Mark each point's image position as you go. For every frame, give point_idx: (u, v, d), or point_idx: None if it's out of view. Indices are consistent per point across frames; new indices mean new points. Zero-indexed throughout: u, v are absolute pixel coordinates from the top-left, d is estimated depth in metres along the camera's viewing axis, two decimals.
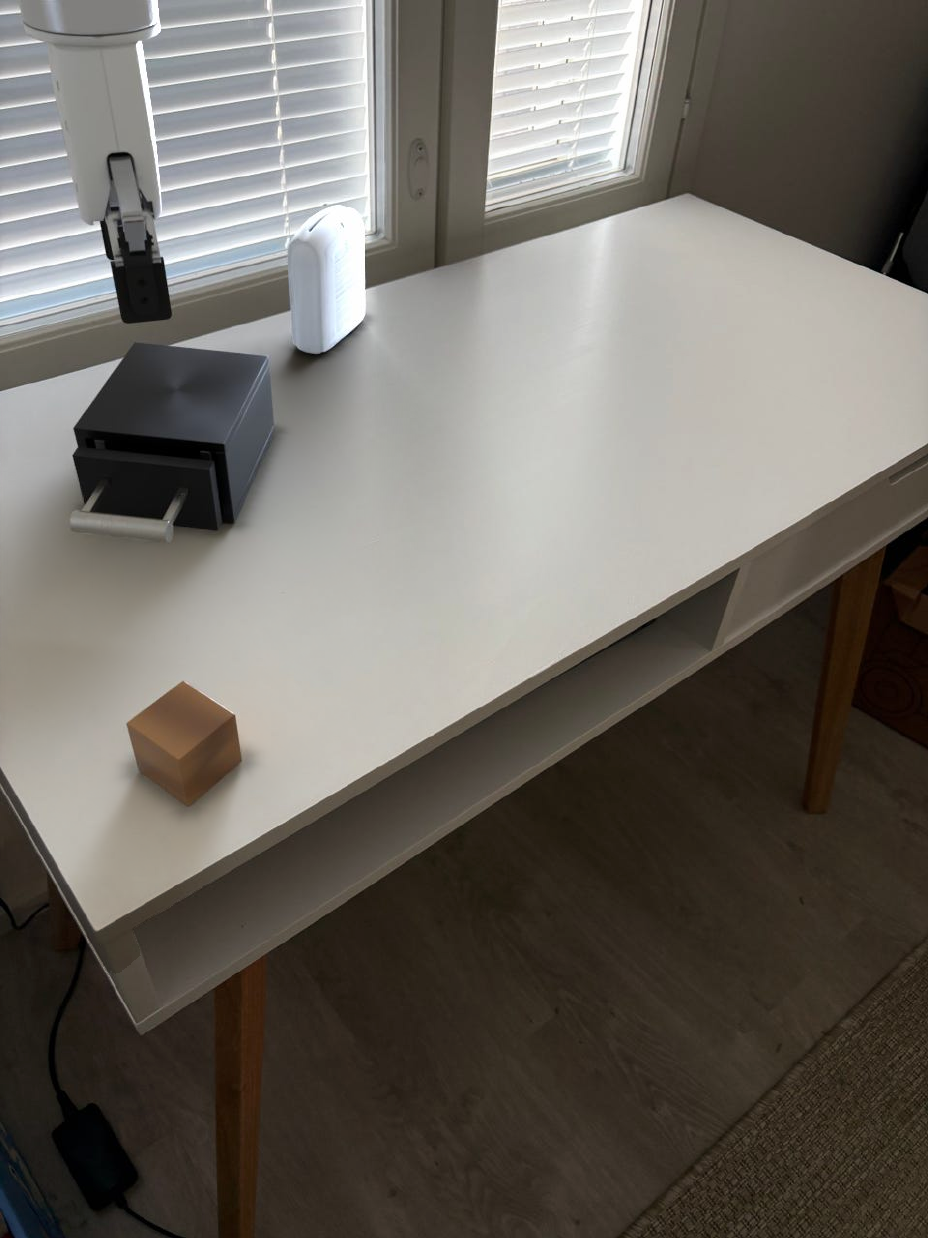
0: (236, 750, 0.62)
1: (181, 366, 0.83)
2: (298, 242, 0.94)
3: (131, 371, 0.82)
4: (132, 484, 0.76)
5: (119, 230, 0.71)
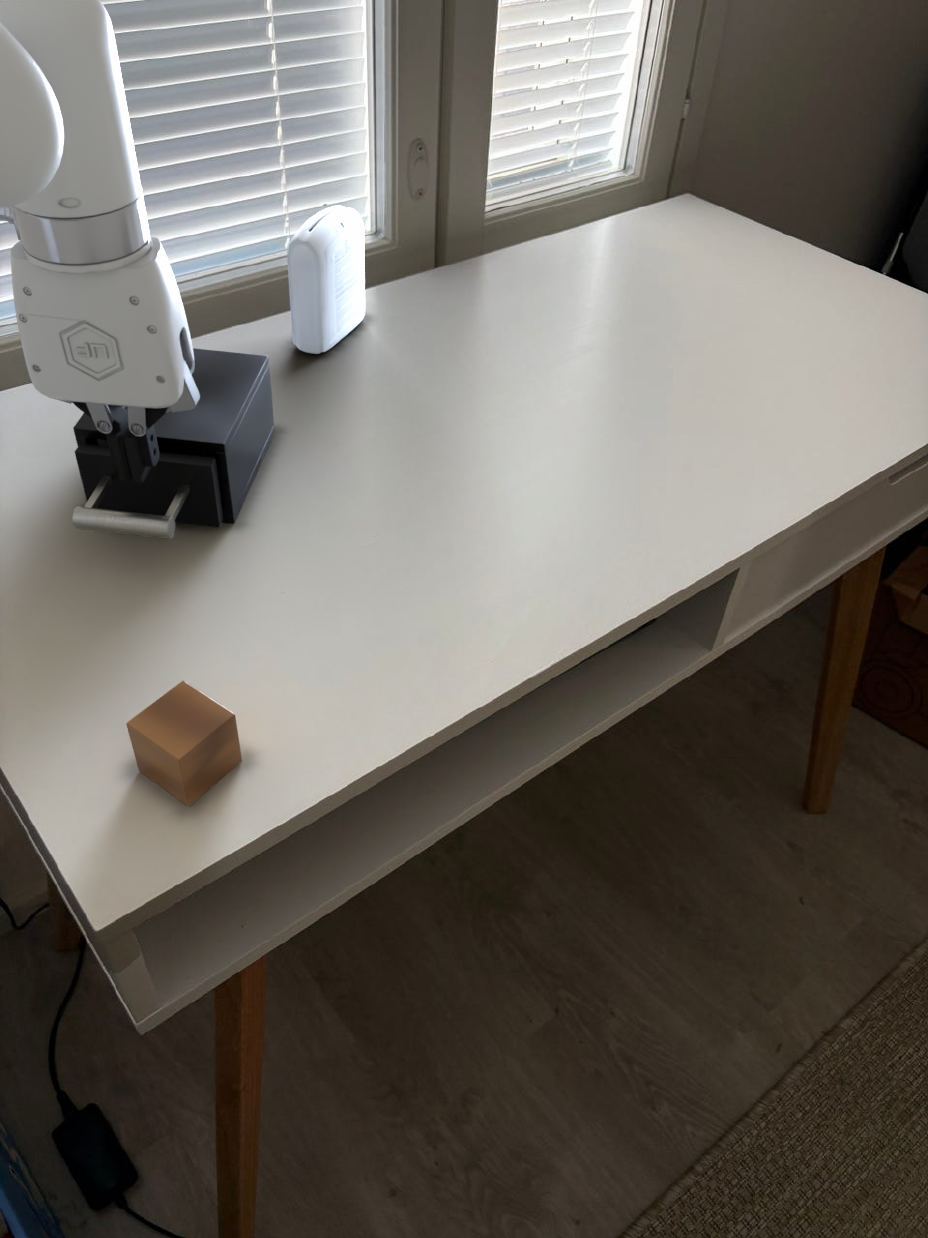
0: (236, 750, 0.62)
1: None
2: (298, 242, 0.94)
3: None
4: (134, 481, 0.77)
5: None
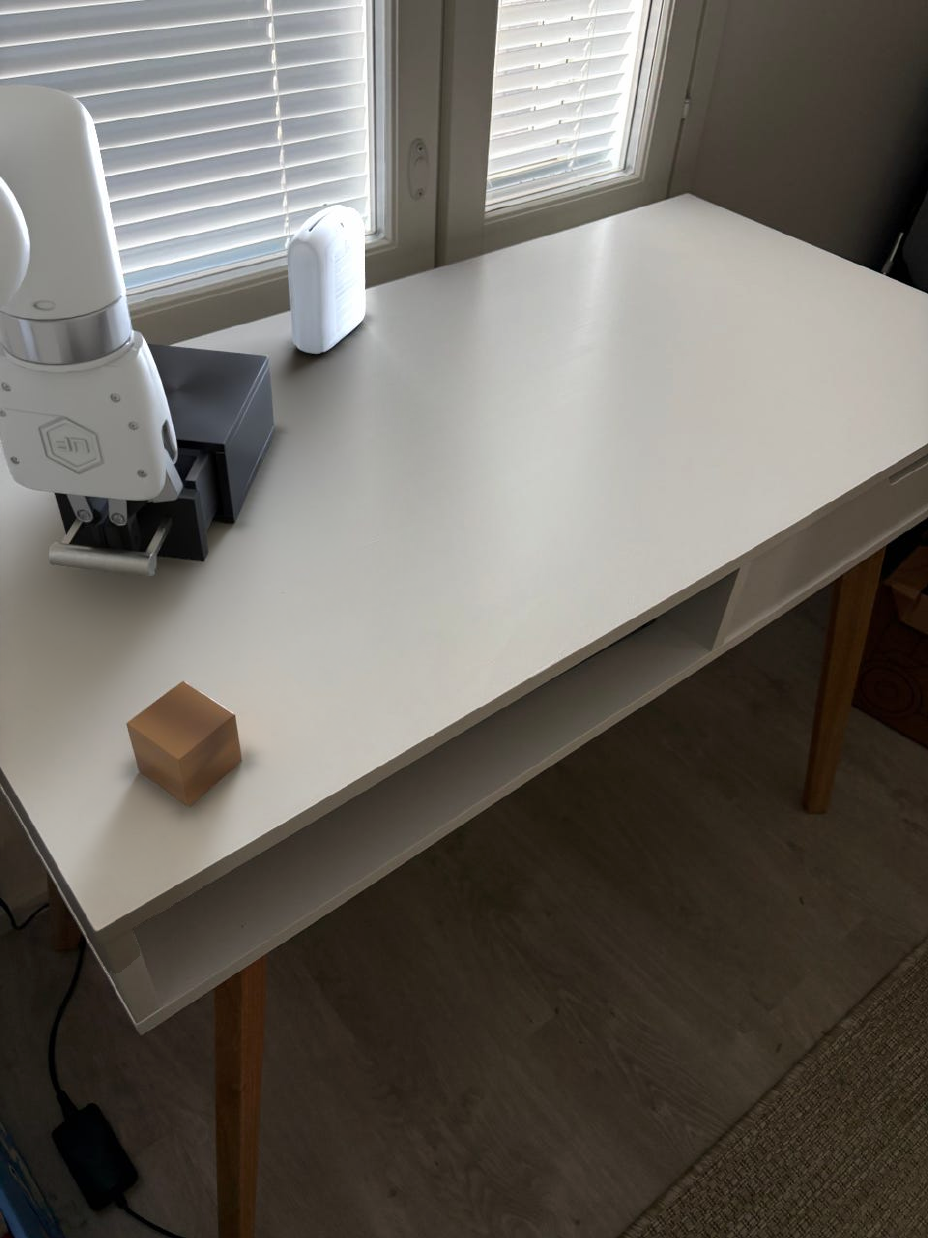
0: (236, 750, 0.62)
1: (181, 366, 0.83)
2: (298, 242, 0.94)
3: None
4: None
5: None
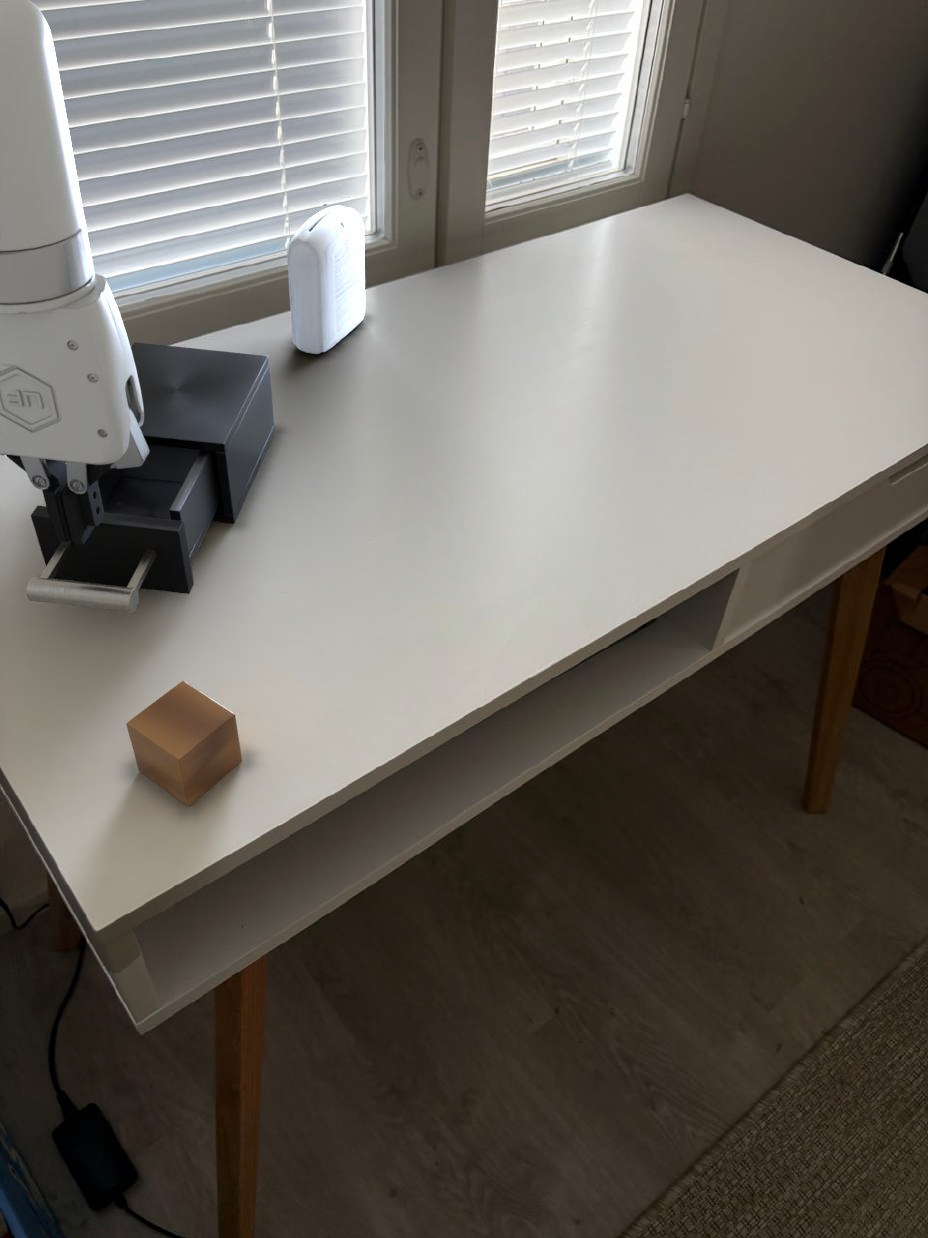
0: (236, 750, 0.62)
1: (181, 366, 0.83)
2: (298, 242, 0.94)
3: None
4: (96, 546, 0.71)
5: None
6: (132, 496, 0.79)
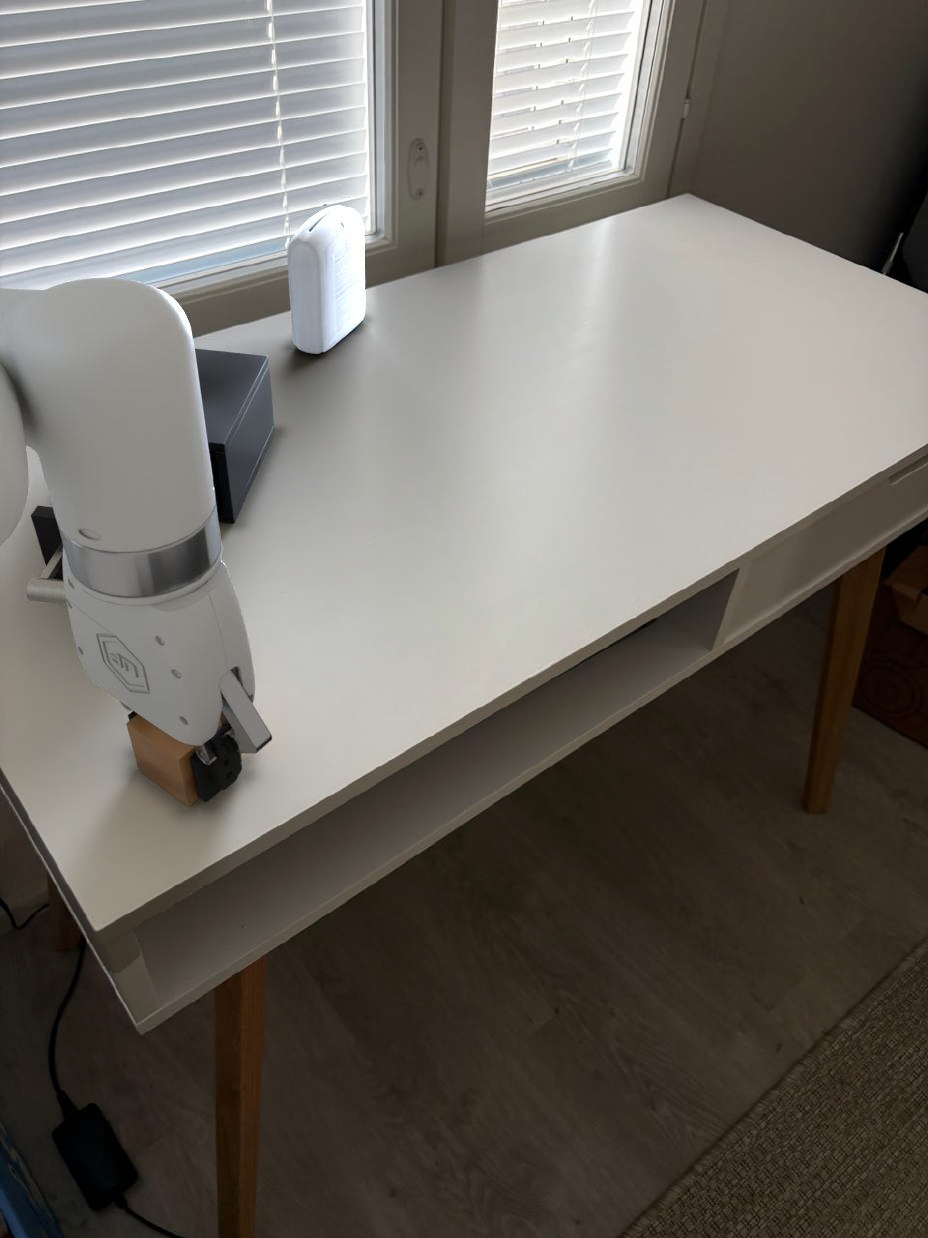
0: None
1: None
2: (298, 242, 0.94)
3: None
4: None
5: None
6: None
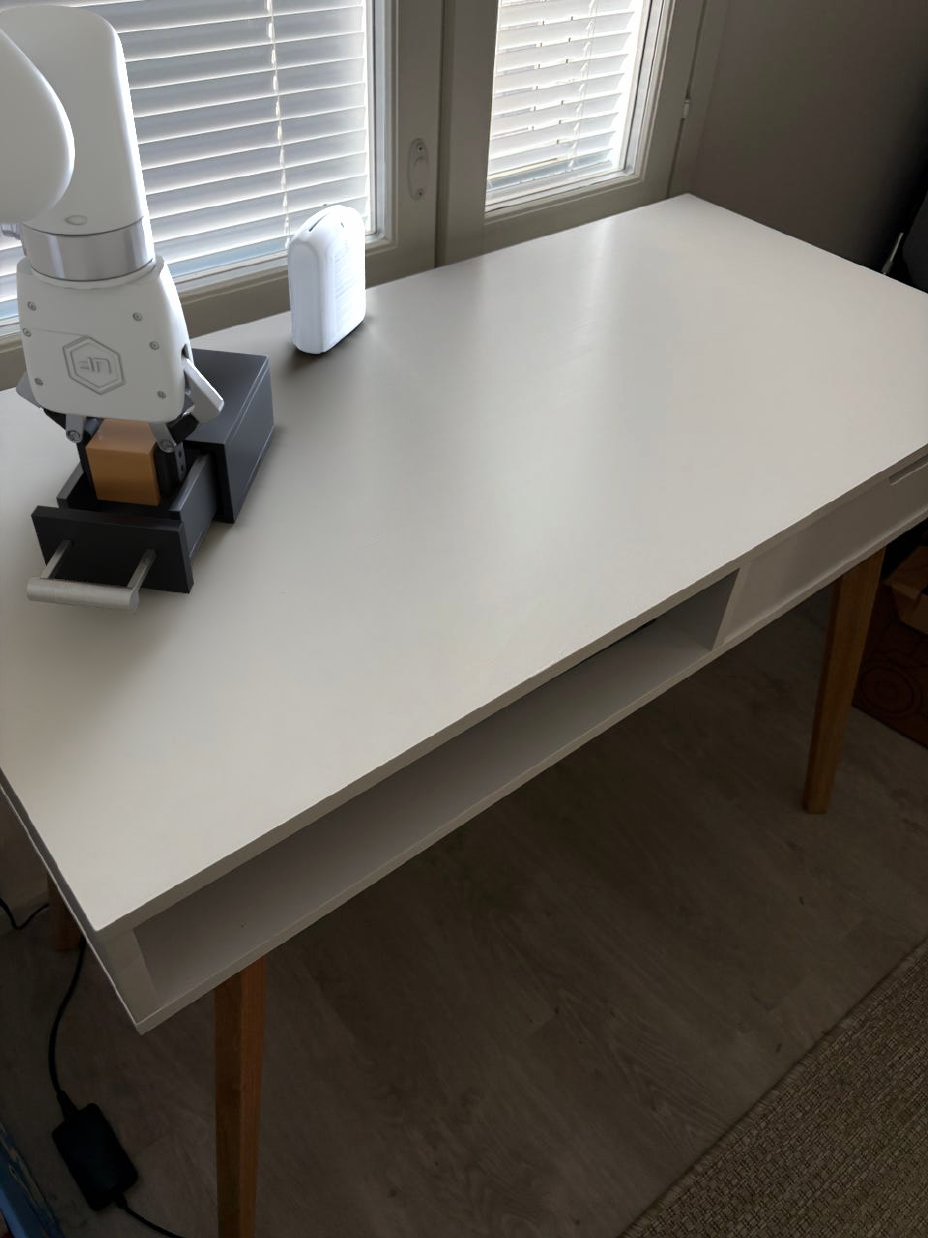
0: None
1: None
2: (298, 242, 0.94)
3: None
4: (96, 545, 0.71)
5: None
6: None
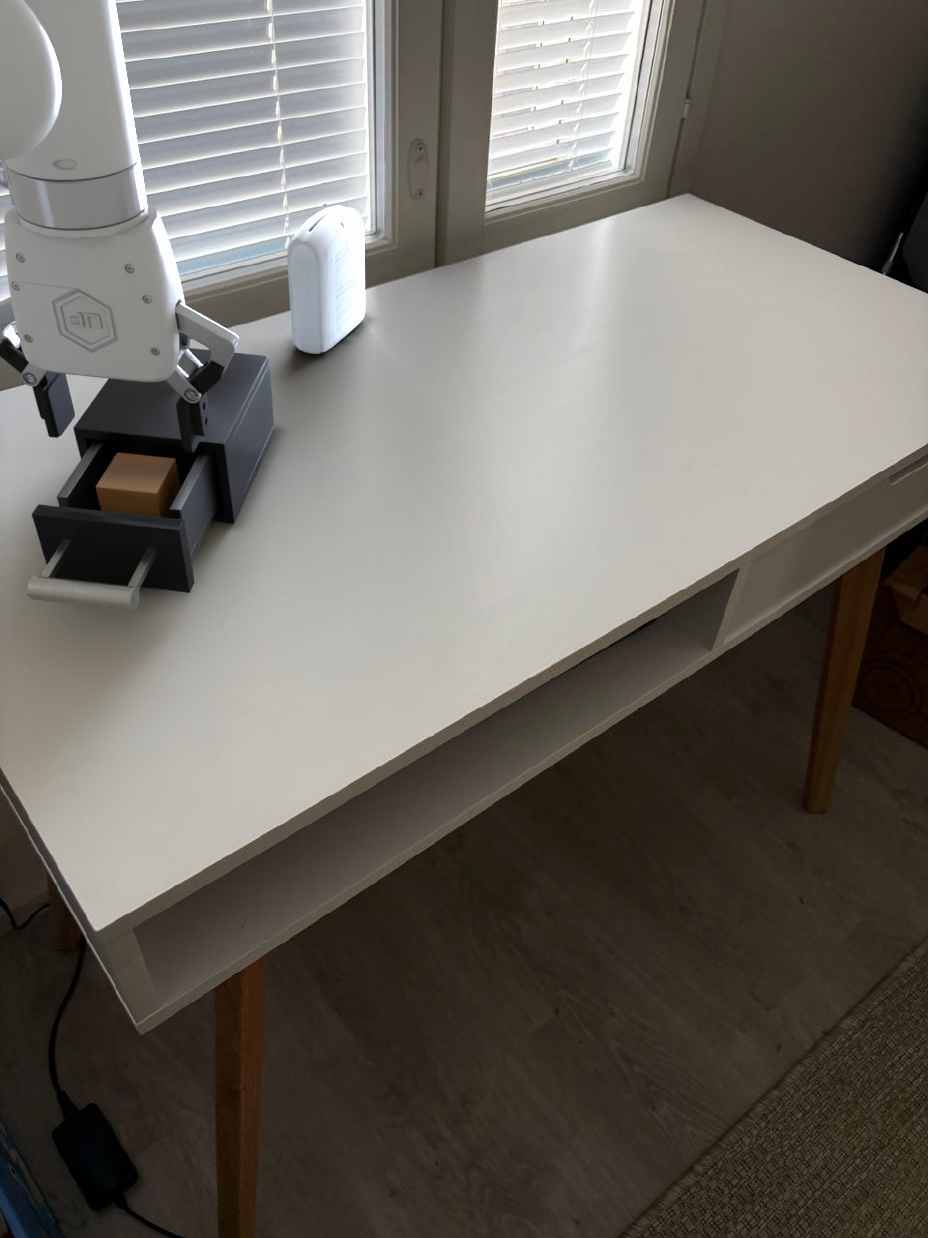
0: None
1: None
2: (298, 242, 0.94)
3: None
4: (97, 544, 0.71)
5: (59, 404, 0.70)
6: None
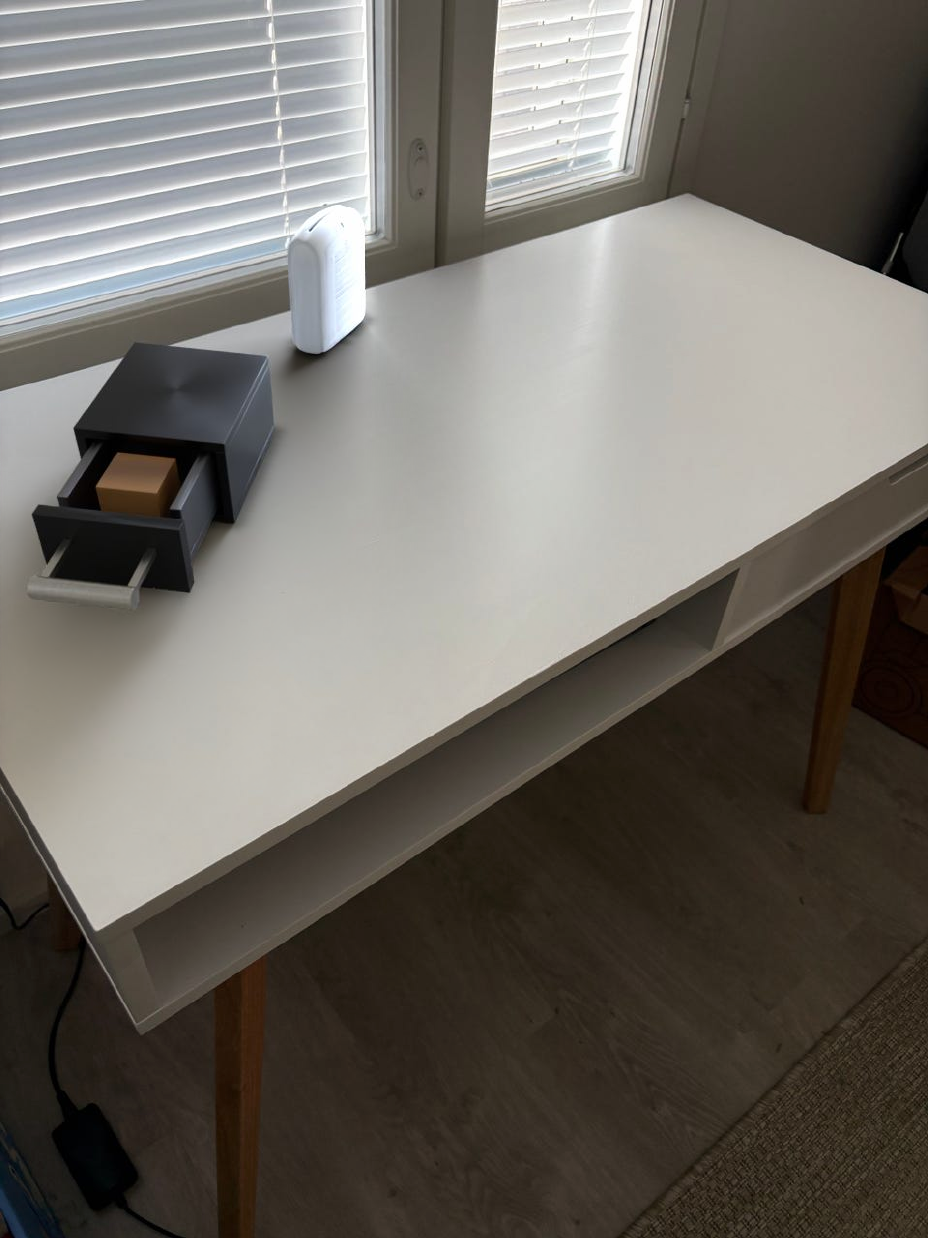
0: None
1: (181, 366, 0.83)
2: (298, 242, 0.94)
3: (131, 371, 0.82)
4: (97, 544, 0.71)
5: None
6: None
